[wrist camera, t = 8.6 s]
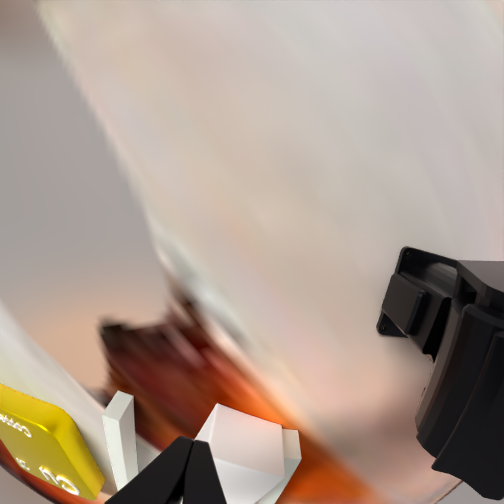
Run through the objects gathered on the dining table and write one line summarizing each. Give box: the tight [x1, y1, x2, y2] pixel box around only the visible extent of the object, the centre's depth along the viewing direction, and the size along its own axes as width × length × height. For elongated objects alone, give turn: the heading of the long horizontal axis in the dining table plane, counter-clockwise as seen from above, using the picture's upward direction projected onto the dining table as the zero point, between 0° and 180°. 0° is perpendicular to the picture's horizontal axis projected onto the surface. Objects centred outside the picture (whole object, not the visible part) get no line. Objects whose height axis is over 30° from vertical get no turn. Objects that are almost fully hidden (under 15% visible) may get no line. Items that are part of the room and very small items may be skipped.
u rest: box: [102, 391, 301, 504], centre depth 23 cm, size 16×24×4 cm
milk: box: [181, 403, 285, 504], centre depth 21 cm, size 6×6×22 cm
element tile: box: [0, 384, 105, 501], centre depth 23 cm, size 15×15×5 cm
